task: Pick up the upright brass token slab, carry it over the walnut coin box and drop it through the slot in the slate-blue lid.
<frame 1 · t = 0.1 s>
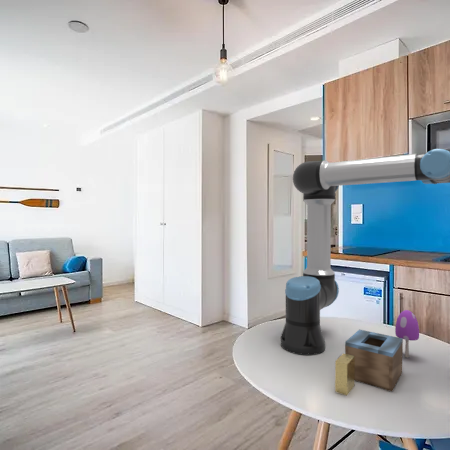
toy: (406, 357, 104), on the table
token: (345, 388, 84), on the table
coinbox: (374, 375, 92), on the table
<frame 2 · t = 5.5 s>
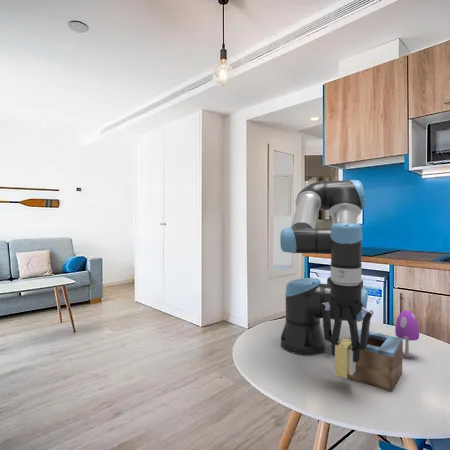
hand: (345, 370, 85), 4 cm above the table, fingers closed on token, 3 cm apart
token: (344, 372, 85), point 4 cm above the table, touching gripper
everything else where it was.
when the fingers open (11 cm above the table, at t = 8.7 s): token drops 9 cm, resting on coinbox.
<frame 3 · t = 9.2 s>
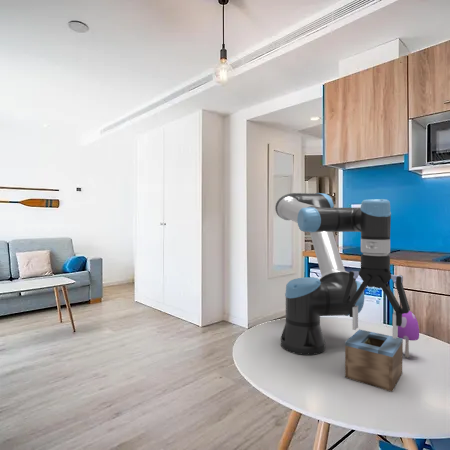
hand: (374, 332, 91), 12 cm above the table, fingers open, 10 cm apart
token: (372, 370, 92), point 1 cm above the table, tilted 23°, touching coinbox
everything else where it was.
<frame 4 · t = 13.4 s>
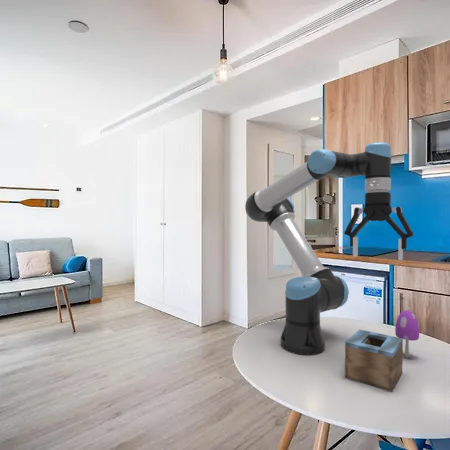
hand: (377, 258, 104), 32 cm above the table, fingers open, 13 cm apart
nothing on the table moved.
at the end: token inside the target area on the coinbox (0.4 cm from its centre), point 1.2 cm above the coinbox's base; the gripper is holding nothing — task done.
